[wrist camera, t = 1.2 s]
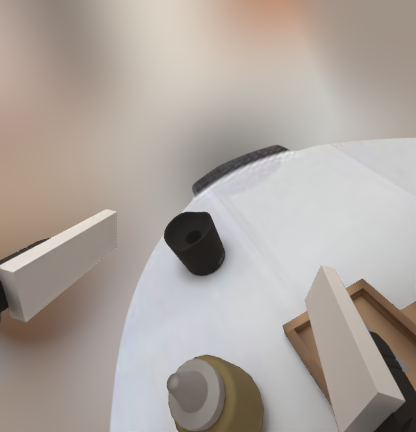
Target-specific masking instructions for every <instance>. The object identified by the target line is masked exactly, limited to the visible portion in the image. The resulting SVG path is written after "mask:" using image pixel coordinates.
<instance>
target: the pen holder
mask: <svg viewBox="0 0 416 432" xmlns="http://www.w3.org/2000/svg"><path fill="white" fill-rule="evenodd" d="M164 239H165V242H166V243H167V244H168V246H169V247H170V248H171V249H172V251H173V252H174V253H175V254H176V255H177V257H178V258H179V259H180V260H181V261H182V263H183V264H184V265H185V266H186V267H187V268H188V270H189V271H190V272H192V273H193V274H196V275H206V274H209V273H212V272H214V271H215V270H216V269H217V268H218V267H219V266H220V265H221V264H222V262H223V260H224V256H225V251H224V248H223V245H222V242H221V240H220V237H219V235H218V232H217V230H216V228H215V225H214V223H213V220H212V218H211V216H210V214H209V213H207V212H184V213H181V214H179V215H178V216H176V217H175V218H174V219H173V220H172V221H171V222H170V223H169V224H168V226H167V227H166V229H165V233H164Z"/></svg>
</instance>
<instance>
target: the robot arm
mask: <svg viewBox="0 0 416 432" xmlns="http://www.w3.org/2000/svg"><path fill="white" fill-rule="evenodd" d="M116 247H117V212H116V211H112V210H109V209H106V210H104V211H102V212H100V213H98V214H96V215H94V216H92V217H90V218H88V219H87V220H85V221H83V222H81V223H79V224H77V225H75V226H73V227H71V228H69V229H68V230H66V231H64V232H62V233H60V234H58V235H56V236H54V237H52V238H48V239H44V240H41V241H37V242H35V243H34V244H31V245H30V246H28V247H27V248H24V249H22V250H20V251H19V252H16V253H14V254H12V255H10V256H8V257H6V258H4V259H2V260H0V321H1V312H2V311H4V310H5V309H6V308H9V311H10V315H11V317H12V318H15V319H18V320H20V321H23V322H27V321H28V320H29V319H31V318H32V317H33V316H34V315H35V314H36V313H38V312H39V311H40V310H41V309H43V308H44V307H45V306H46V305H47V304H49V303H50V302H51V301H52V300H53V299H54V298H56V297H57V296H58V295H59V294H61V293H62V292H63V291H64V290H65V289H67V288H68V287H69V286H70V285H71V284H73V283H74V282H75V281H76V280H77V279H79V278H80V277H81V276H82V275H84V274H85V273H86V272H87V271H88V270H89V269H91V268H92V267H93V266H94V265H96V263H98V262H99V261H100V260H102V259H103V258H104V257H105V256H106V255H108V254H109V253H110V252H111V251H112V250H114V249H115V248H116ZM305 303H306V307H307V311H308V315H309V319H310V323H311V326H312V330H313V334H314V338H315V342H316V346H317V349H318V353H319V357H320V361H321V365H322V369H323V373H324V376H325V380H326V384H327V388H328V392H329V396H330V399H331V403H332V407H333V411H334V415H335V419H336V423H337V426H338V430H339V432H416V391H415V389H414V388H413V386H412V384H411V383H410V381H409V379H408V377H407V376H406V374H405V372H404V371H402V367H401V366H400V364H399V362H398V361H397V360H396V357H395V355H394V354H393V352H392V350H391V349H390V347H389V345H388V344H387V343H386V342H385V341H384V340H383V339H382V338H381V337H380V336H379V335H378V334H377V333H375V332H371V331H368V330H367V328H366V326H365V324H364V322H363V320H362V318H361V316H360V315H359V313H358V311H357V309H356V307H355V305H354V303H353V301H352V300H351V298H350V296H349V294H348V292H347V290H346V288H345V286H344V285H343V283H342V281H341V279H340V277H339V275H338V273H337V272H336V270H335V269H334V268H330V267H326V266H322V265H321V267H320V269H319V271H318V273H317V275H316V278H315V280H314V282H313V284H312V286H311V288H310V290H309V292H308V294H307V296H306V299H305Z"/></svg>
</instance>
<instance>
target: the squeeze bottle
mask: <svg viewBox="0 0 416 432" xmlns="http://www.w3.org/2000/svg"><path fill="white" fill-rule="evenodd" d="M167 388H168V391H169V402H168V404H169V408H170V411H171V415H172V417H173V419H174V421H175V424H176V428H177V430H178V431H179V432H261V429H262V421H263V405H262V400H261V396H260V392H259V389H258V388H257V386H256V384H255V382H254V381H253V379H252V377H251V376H250V375H249V374H247V373H246V372H245V371H244V370H242V369H241V368H240V367H238V366H236V365H234V364H231V363H229V362H227V361H225V360H223V359H221V358H219V357H215V356H211V355H203V356H199V357H195V358H194V359H193V360H189V361H187V362H185V363H184V364H183V365H182V366H180V367H179V368H178V370H177V371H176V373H174V374H172V375H171V376H170V377H169V379H168V381H167Z"/></svg>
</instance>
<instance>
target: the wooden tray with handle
mask: <svg viewBox="0 0 416 432" xmlns="http://www.w3.org/2000/svg"><path fill="white" fill-rule="evenodd" d="M346 290H347V292H348V294H349V296H350V298H351V300H352V301H353V303H354V305H355V307H356V309H357V311H358V313H359V315H360V316H361V318H362V320H363V322H364V324H365V326H366V328H367V330H368V331H371V332H375V333H377V334H378V335H379V336H380V337H381V338H382V339H383V340H384V341H385V342H386V343H387V344H388V345H389V347H390V349H391V350H392V352H393V354H394V355H395V357H396V360H397V361H398V362H399V364H400V366H401V367H402V371H404V372H405V374H406V376H407V377H408V379H409V381H410V383H411V384H412V386H413V388H414V389H415V391H416V302H414V303H412V304H411V305H409V306H407V307H406V308H404V309H402V310H401V311H400V310H398V309H397V308H396V307H395V306H394V305H393V304H391V303H390V302H389V301H388V300H387V299H386V298H385V297H383V296H382V295H381V294H380V293H379V292H378V291H376V290H375V289H374V288H373V287H372V286H371V285H369V284H368V283H367V282H366V281H365V280H364V279H361V280H359V281H358V282H356V283H354V284H352V285H351V286H349V287H347V288H346ZM283 329H284V332H285V334H286V336H287V337H288V339H289V340H290V342H291V344H292V345H293V347H294V348H295V350H296V351H297V353H298V354H299V356H300V357H301V359H302V361H303V362H304V364H305V365H306V367H307V368H308V370H309V371H310V373H311V375H312V376H313V378H314V379H315V381H316V382H317V384H318V385H319V387H320V389H321V390H322V392H323V393H324V395H325V396H326V398H327V399H328V401H329V403H330V404H331V406H332V403H331V399H330V396H329V392H328V388H327V384H326V380H325V376H324V373H323V369H322V365H321V361H320V357H319V353H318V349H317V346H316V342H315V338H314V334H313V330H312V326H311V323H310V319H309V315H308V311H307V312H305V313H303V314H302V315H300V316H298V317H296V318H295V319H293V320H291V321H290V322H288V323H286V324H285V325H283Z"/></svg>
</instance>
